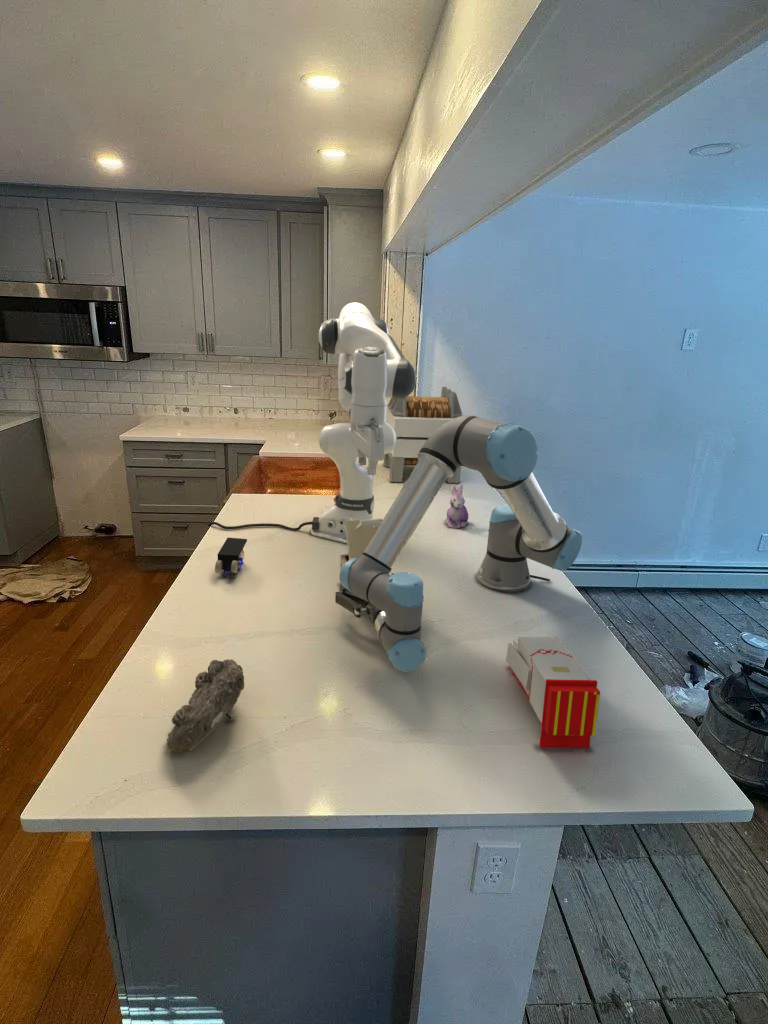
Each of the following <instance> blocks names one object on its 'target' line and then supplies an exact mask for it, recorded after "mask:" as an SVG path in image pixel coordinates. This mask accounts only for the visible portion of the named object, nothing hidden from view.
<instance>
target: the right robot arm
mask: <svg viewBox="0 0 768 1024" xmlns="http://www.w3.org/2000/svg"><path fill="white" fill-rule="evenodd" d="M538 448H539V447H538V441H537V439H536V437H535V435H534V433H532V431H531V430H529V429H528V428H526V427H524V426H521V425H518V424H516V423H513V422H504V421H499V420H494V419H488V418H484V417H480V416H475V415H462V416H460V417H456V418H454V419H452V420H450V421H448V422H447V423H445V424H443V425H442V426H441V427H440V428H439V429H437V430H436V431H435V432H434V433H433V434H432V435H431V436H430V437H429V438H428V440H427V441H426V442H425V444H424V445H423V447H422V448H421V450H420V451H419V453H418V455H417V456H418V460H419V461H418V463H417V465H416V466H414V468H413V470H412V471H411V473H410V474H409V477H408V478H407V479H406V481H405V482H404V485H403V486H402V488H401V489H400V491H399V493H398V494H397V496H396V497H395V499H394V501H393V503H392V504H391V506H390V507H389V509H388V511H387V513H385V516H384V518H382V519H383V521H382V522H381V524H380V526H379V527H378V529H377V531H376V532H375V534H374V536H373V537H372V539H371V540H370V542H369V544H368V545H367V547H366V549H365V550H364V552H363V554H362V555H361V557H360V558H352V559H349V560H348V561H347V562H346V563H344V565H343V566H342V568H341V571H340V570H339V583H340V582H341V585H339V591H336V592H335V599H334V600H335V603H336V604H338V605H339V606H341V607H342V608H344V609H346V610H347V611H348V612H350V613H352V614H353V615H354V617H355V619H360V618H361V615H365V614H366V615H367V616H369V618H370V622H371V623H372V626H373V627H374V629H375V631H376V633H377V635H378V637H379V639H380V641H381V643H382V646H383V648H384V651H385V652H386V657H387V658H388V659H389V661H390V662H391V664H392V665H393V667H394V668H395V669H396V670H398V671H401V672H411V671H414V670H416V669H418V668H419V667H421V666H422V665H423V663H424V661H425V659H426V648H425V646H424V643H423V641H421V633H422V615H423V605H424V599H425V598H424V597H425V596H424V582H423V579H422V578H421V577H420V576H419V575H418V574H416V573H409V572H406V571H399V572H395V573H394V572H392V573H391V571H392V569H393V568H394V566H395V565H396V563H397V561H398V559H399V558H400V556H401V555H402V553H403V551H404V550H405V549H406V546H407V544H408V542H409V541H410V539H411V538H412V536H413V535H414V533H415V531H416V529H417V528H418V527H419V524H420V523H421V521H422V520H423V518H424V516H425V514H427V512H428V509H429V508H430V506H431V505H432V503H433V501H434V499H435V498H436V496H437V495H438V493H439V492H440V489H441V487H442V486H443V484H444V483H445V481H446V478H448V477H452V476H453V475H454V473H455V471H456V470H457V468H459V467H460V466H461V467H463V468H468V469H471V470H474V471H477V472H479V473H480V474H481V476H482V478H483V479H484V480H485V482H486V483H487V485H488V486H489V487H491V488H492V489H494V490H497V491H499V492H500V493H501V495H502V497H503V498H504V500H505V502H506V503H507V504H502V505H499V506H495V507H494V508H493V509H492V510H491V513H490V514H491V515H490V517H489V521H488V523H489V526H488V535H487V544H486V552H485V553H486V554H485V555H484V558H483V559H482V562H481V563H480V566H479V568H478V570H477V580H478V582H479V583H480V584H481V585H483V586H484V587H486V588H488V589H491V590H493V591H498V592H503V593H516V592H517V593H519V592H522V591H525V590H526V589H529V587H530V583H531V579H536V580H542V581H546V582H551V579H550V578H546V577H543V576H538V575H534V574H530V569H529V565H528V559H529V560H532V561H534V562H537V563H539V564H541V565H544V566H546V567H549V568H551V569H552V570H557V571H561V572H564V571H567V570H568V569H570V568H571V566H572V565H573V564H574V563H575V561H576V559H577V557H578V556H579V554H580V551H581V548H582V543H583V534H582V532H581V531H579V530H577V529H576V528H571V527H569V526H568V525H567V523H566V521H565V519H564V517H562V515H560V514H558V513H557V512H554V511H553V509H552V507H551V505H550V503H549V502H548V499H547V498H546V496H545V494H544V492H543V490H542V488H541V485H540V484H539V482H538V481H537V478H536V476H535V474H534V473H533V471H534V469H535V467H536V464H537V462H538V458H539V457H538V456H539V454H538V453H537V452H538V450H539V449H538ZM390 573H391V574H390Z"/></svg>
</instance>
